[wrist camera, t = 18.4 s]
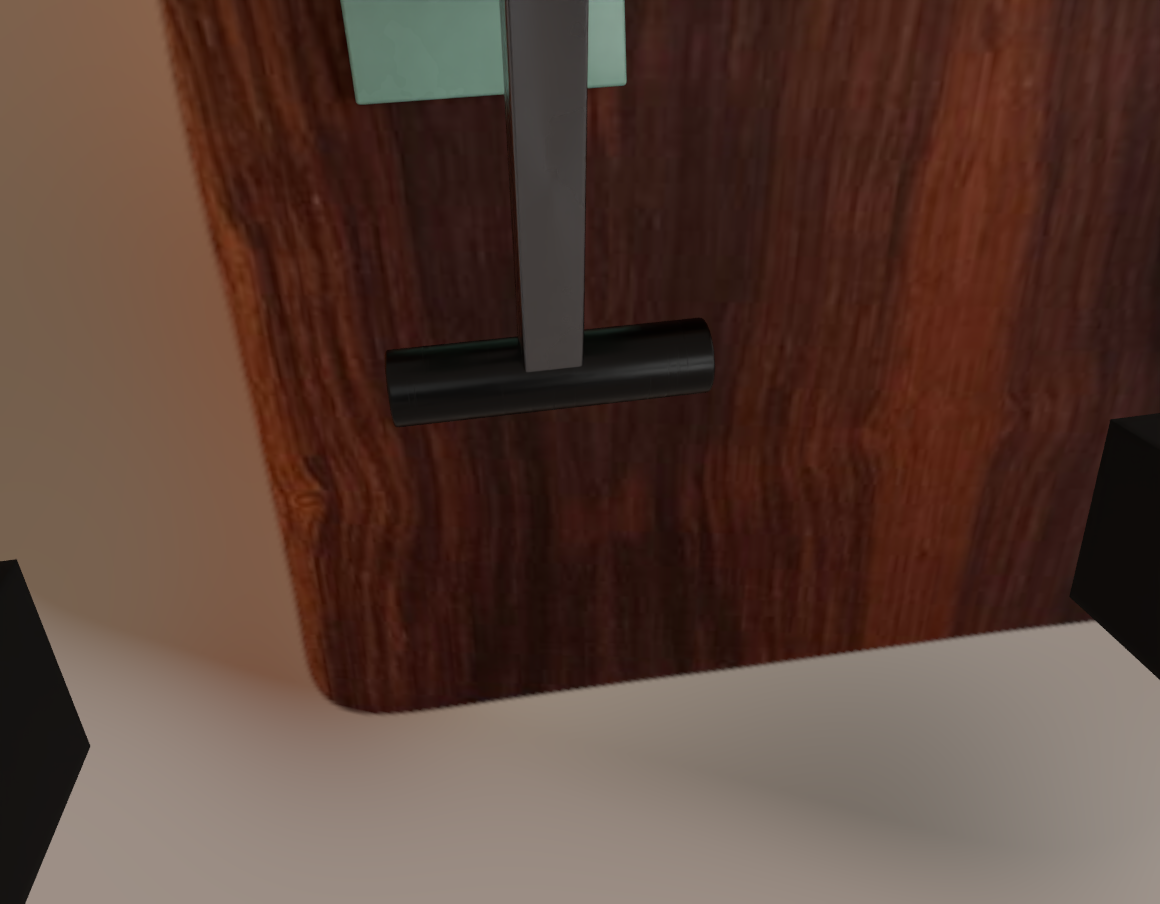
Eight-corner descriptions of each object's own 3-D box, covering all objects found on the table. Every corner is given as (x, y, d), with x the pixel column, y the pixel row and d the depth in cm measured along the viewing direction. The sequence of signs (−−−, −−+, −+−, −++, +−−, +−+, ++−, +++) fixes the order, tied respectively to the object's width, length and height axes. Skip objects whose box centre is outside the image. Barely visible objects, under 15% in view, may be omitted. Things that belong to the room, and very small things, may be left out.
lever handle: (686, 342, 19) (716, 425, 18) (393, 373, 18) (397, 462, 17) (789, -495, 10) (870, -479, 9) (226, -495, 9) (200, -479, 8)
